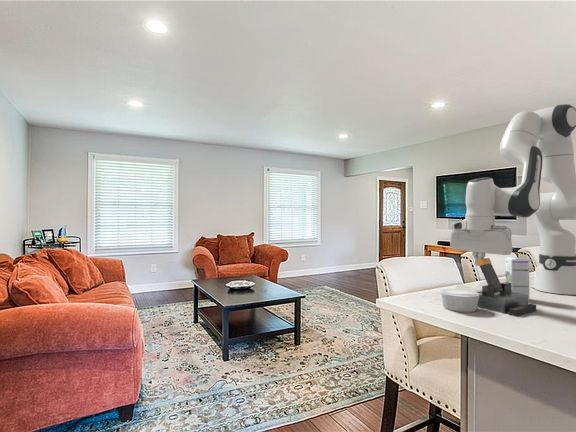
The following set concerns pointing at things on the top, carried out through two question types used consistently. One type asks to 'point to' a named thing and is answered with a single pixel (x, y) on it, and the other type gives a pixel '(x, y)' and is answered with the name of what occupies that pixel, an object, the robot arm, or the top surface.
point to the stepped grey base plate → (500, 298)
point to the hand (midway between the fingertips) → (479, 265)
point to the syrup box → (518, 275)
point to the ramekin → (459, 300)
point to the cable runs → (522, 310)
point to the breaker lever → (490, 274)
